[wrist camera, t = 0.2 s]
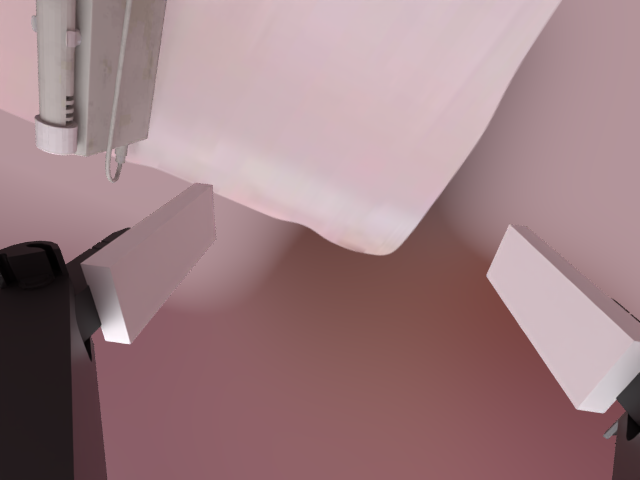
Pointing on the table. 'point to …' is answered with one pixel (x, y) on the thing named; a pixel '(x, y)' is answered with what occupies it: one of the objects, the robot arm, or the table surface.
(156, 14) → the geiger counter
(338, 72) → the table surface
